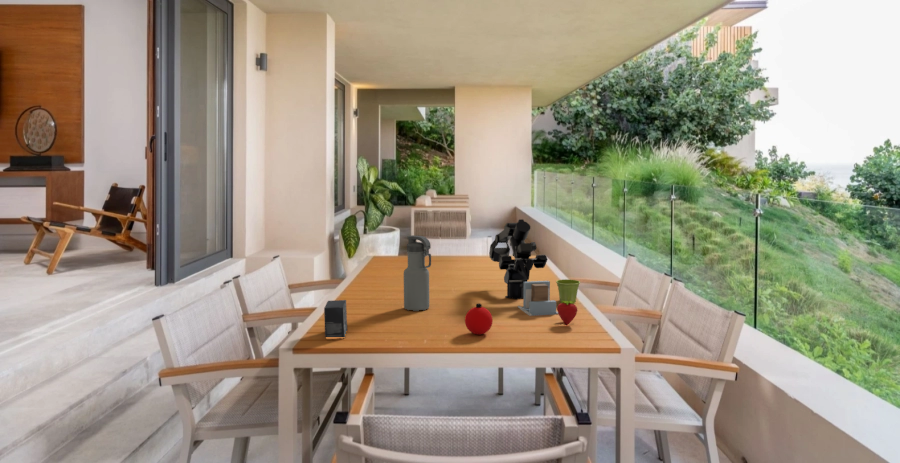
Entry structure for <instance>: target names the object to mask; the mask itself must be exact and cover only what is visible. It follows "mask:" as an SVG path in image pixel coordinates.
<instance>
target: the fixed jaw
mask: <svg viewBox="0 0 900 463" xmlns="http://www.w3.org/2000/svg"><path fill="white" fill-rule="evenodd" d="M556 311H557V301H556V300H554V299H553V300H552V299H551V300H550V301H531V302H529V313H531V314H532V315H536V316H541V315H540V314H554V315H557V314H556Z"/></svg>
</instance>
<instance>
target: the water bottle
mask: <svg viewBox="0 0 900 463" xmlns="http://www.w3.org/2000/svg"><path fill="white" fill-rule="evenodd" d="M407 240H408V241H407V244H406V253H407V267H406V268H405V269H404V271H403V309H405V310H406V309H407V310H406V311H409V310H413V311H412V312H420V311H419V310H423V311H426V309H427V310H428V309H429V308H430V270H429V269H428V268H431V265H432V254H431V253H430V249H431V242H430V240H429V238H427V237H426V236H423V235H407ZM426 257H428V264H427V265H426V264H425V263H426V261H425V260H426Z"/></svg>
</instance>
